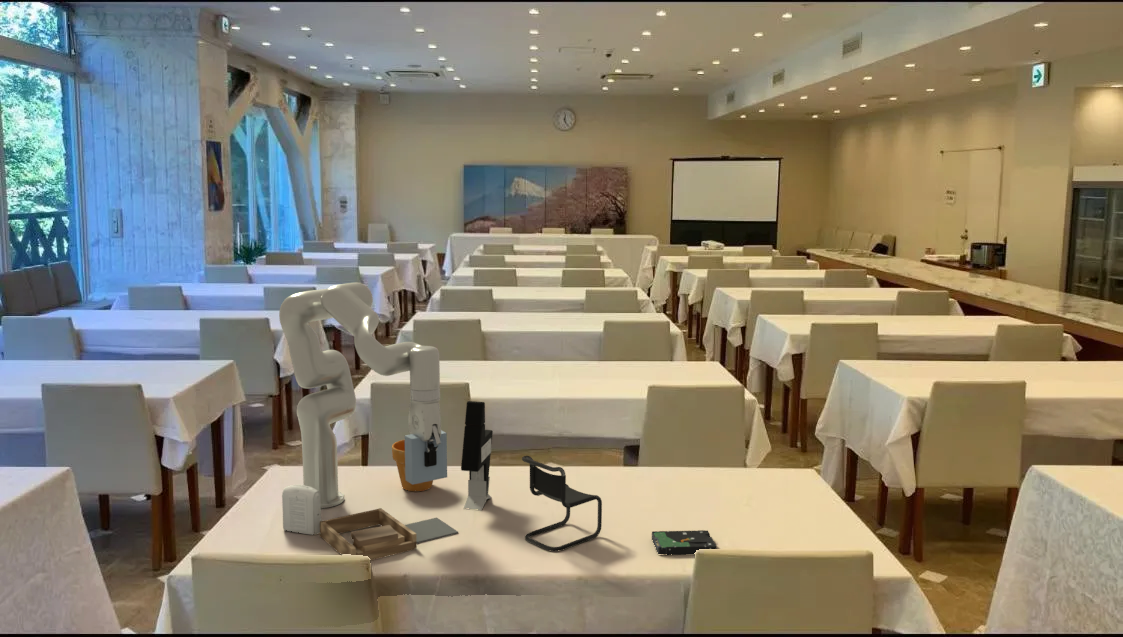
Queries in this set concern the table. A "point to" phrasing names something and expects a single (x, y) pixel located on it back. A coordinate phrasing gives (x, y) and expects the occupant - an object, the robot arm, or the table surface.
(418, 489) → the flower pot
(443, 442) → the rectangular block
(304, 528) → the white rounded tombstone
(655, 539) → the disk drive
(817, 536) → the table surface
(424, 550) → the table surface
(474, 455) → the award
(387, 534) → the offcut stack
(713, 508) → the table surface
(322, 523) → the wooden frame
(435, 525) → the mat
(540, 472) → the chair
